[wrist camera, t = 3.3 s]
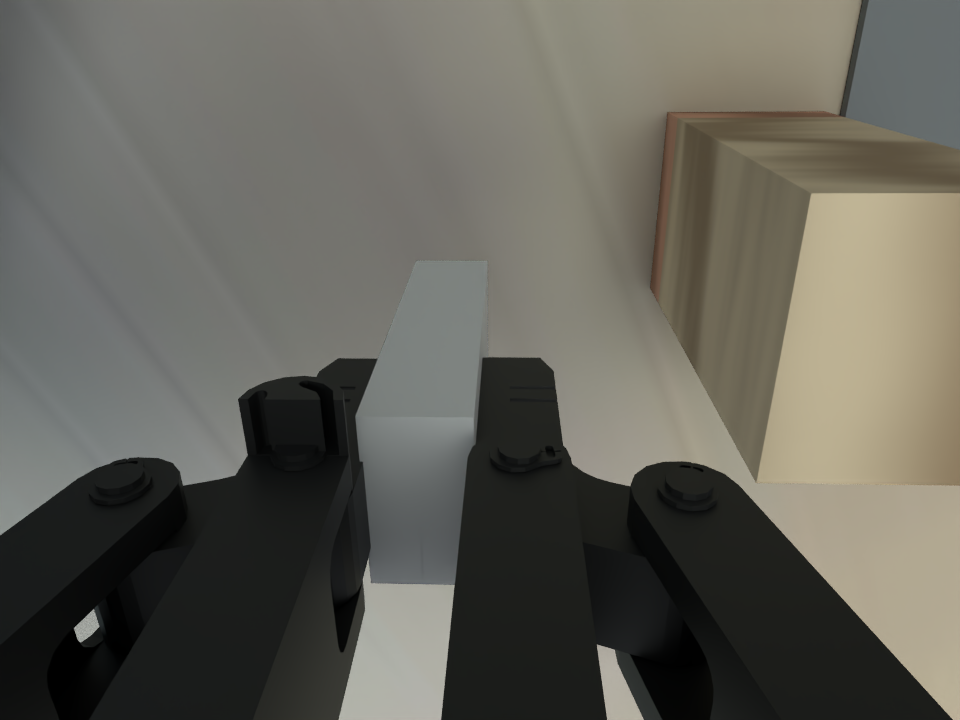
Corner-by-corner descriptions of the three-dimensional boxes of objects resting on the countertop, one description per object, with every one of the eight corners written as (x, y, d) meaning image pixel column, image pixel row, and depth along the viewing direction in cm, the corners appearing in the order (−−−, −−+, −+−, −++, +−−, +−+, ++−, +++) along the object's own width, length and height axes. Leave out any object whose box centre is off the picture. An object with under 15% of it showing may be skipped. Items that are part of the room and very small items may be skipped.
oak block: (650, 287, 26) (756, 483, 15) (667, 112, 23) (811, 193, 12) (791, 288, 26) (1002, 485, 15) (824, 111, 23) (1110, 192, 12)
